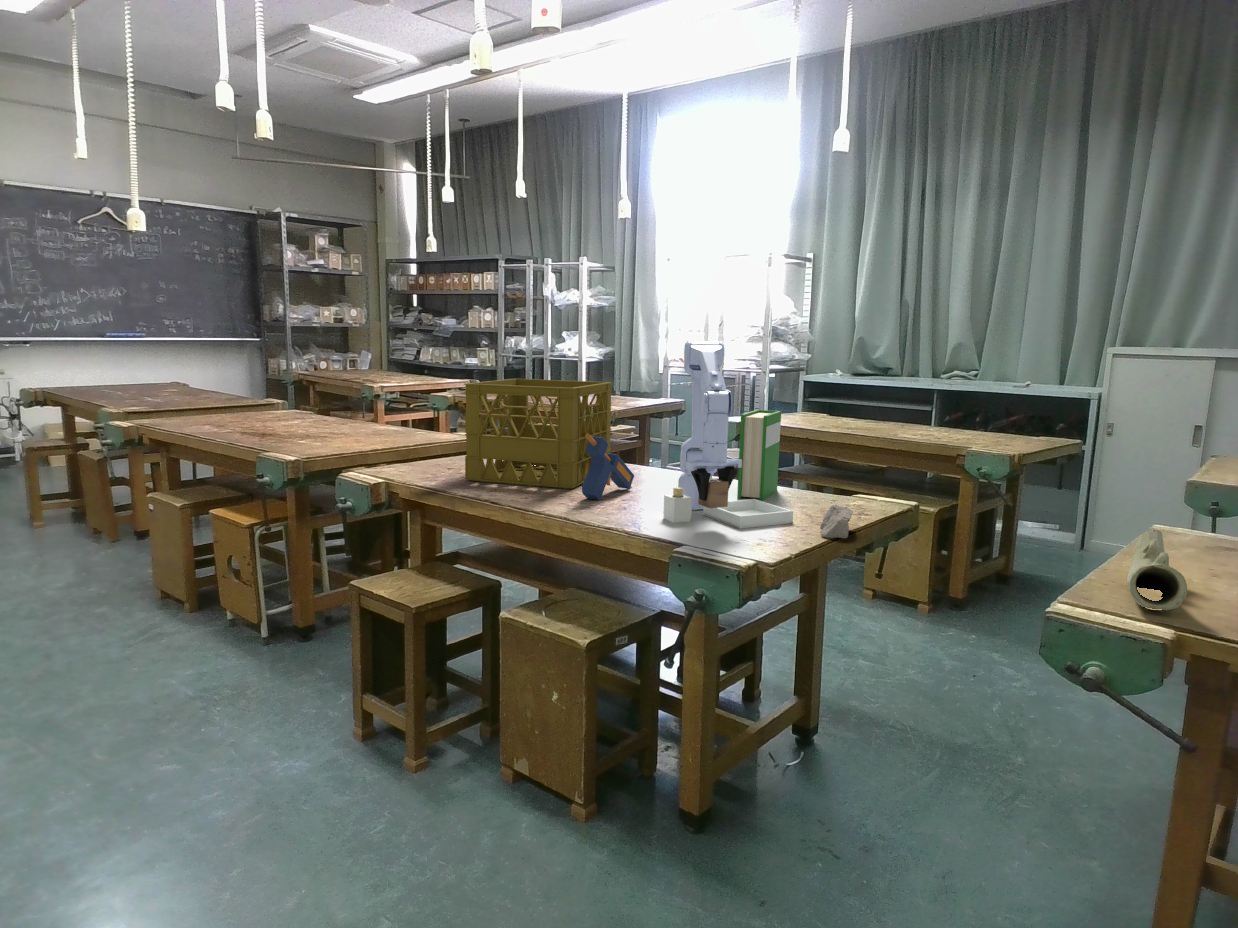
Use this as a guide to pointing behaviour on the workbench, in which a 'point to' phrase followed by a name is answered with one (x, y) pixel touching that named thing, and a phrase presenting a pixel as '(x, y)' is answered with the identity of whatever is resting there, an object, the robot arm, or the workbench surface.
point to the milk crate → (534, 431)
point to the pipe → (1155, 573)
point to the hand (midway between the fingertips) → (712, 498)
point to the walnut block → (716, 494)
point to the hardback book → (759, 454)
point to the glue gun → (604, 469)
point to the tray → (750, 514)
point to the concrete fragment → (836, 522)
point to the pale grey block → (677, 506)
